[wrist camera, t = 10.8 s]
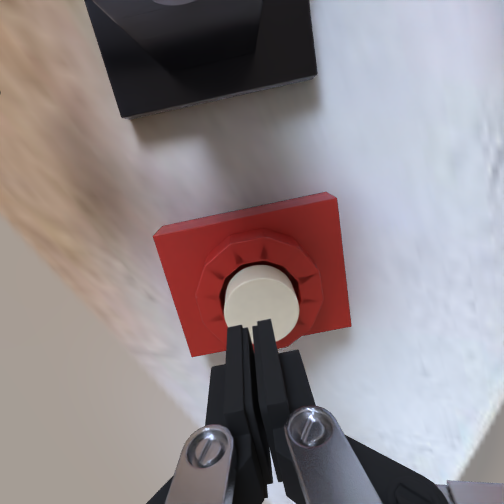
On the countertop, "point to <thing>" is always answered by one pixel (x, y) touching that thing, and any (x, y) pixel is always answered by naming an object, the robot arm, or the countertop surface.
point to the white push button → (261, 300)
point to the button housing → (257, 253)
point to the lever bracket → (200, 49)
